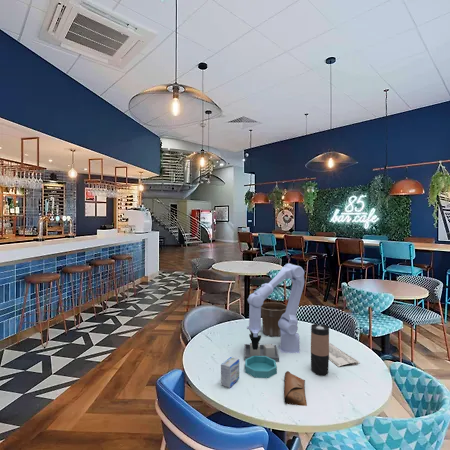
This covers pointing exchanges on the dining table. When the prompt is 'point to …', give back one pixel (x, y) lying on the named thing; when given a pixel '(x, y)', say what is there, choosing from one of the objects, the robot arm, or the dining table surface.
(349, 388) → the dining table surface
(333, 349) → the newspaper
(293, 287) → the robot arm
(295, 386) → the sunglasses case
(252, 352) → the white rectangular block
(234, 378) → the medicine box
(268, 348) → the light gray cube block
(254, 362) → the bowl
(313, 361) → the travel mug
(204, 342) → the dining table surface
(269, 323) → the plant pot
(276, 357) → the parts tray
